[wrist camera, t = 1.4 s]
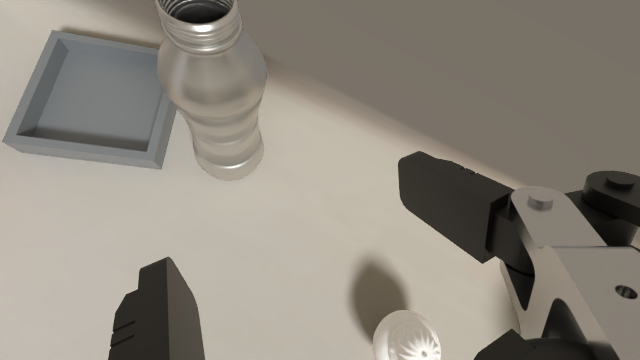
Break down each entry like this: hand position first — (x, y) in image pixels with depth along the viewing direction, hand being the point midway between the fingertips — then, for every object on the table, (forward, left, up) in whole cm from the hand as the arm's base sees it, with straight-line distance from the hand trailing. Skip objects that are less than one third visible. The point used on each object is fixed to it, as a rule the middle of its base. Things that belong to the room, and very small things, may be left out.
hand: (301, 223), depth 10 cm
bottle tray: (-19, +14, -22) cm, 32 cm away
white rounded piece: (+12, -7, -22) cm, 26 cm away
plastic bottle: (-6, +10, -22) cm, 25 cm away
